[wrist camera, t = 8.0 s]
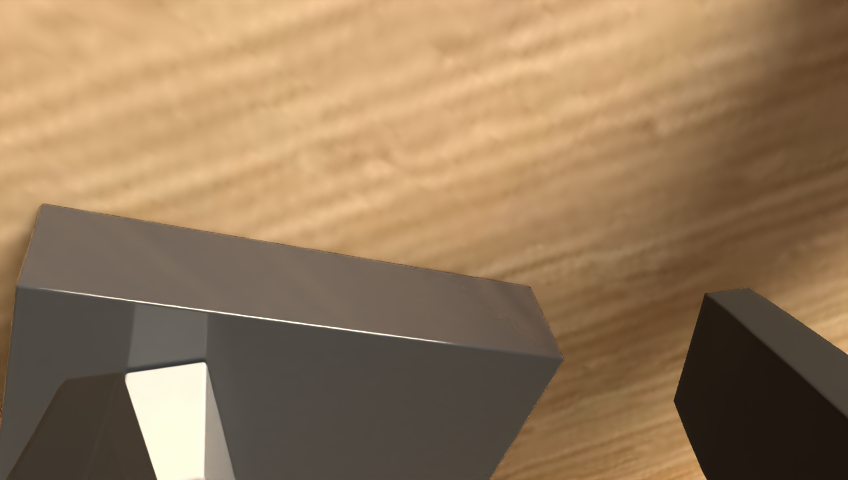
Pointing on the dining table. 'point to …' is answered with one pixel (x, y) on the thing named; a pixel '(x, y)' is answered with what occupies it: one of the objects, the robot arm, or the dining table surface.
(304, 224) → the dining table surface
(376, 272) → the tap deck
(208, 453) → the tap lever
